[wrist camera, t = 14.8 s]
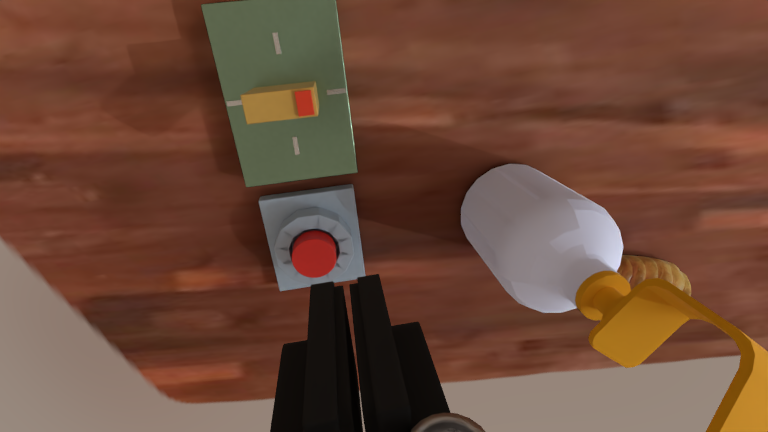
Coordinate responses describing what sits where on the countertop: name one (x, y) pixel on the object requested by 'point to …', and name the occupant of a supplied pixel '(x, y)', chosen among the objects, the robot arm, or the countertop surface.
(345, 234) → the grey square piece
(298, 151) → the plate
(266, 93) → the yellow bar
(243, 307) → the countertop surface
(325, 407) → the robot arm
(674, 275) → the pastry
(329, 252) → the button
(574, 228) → the soap bottle
